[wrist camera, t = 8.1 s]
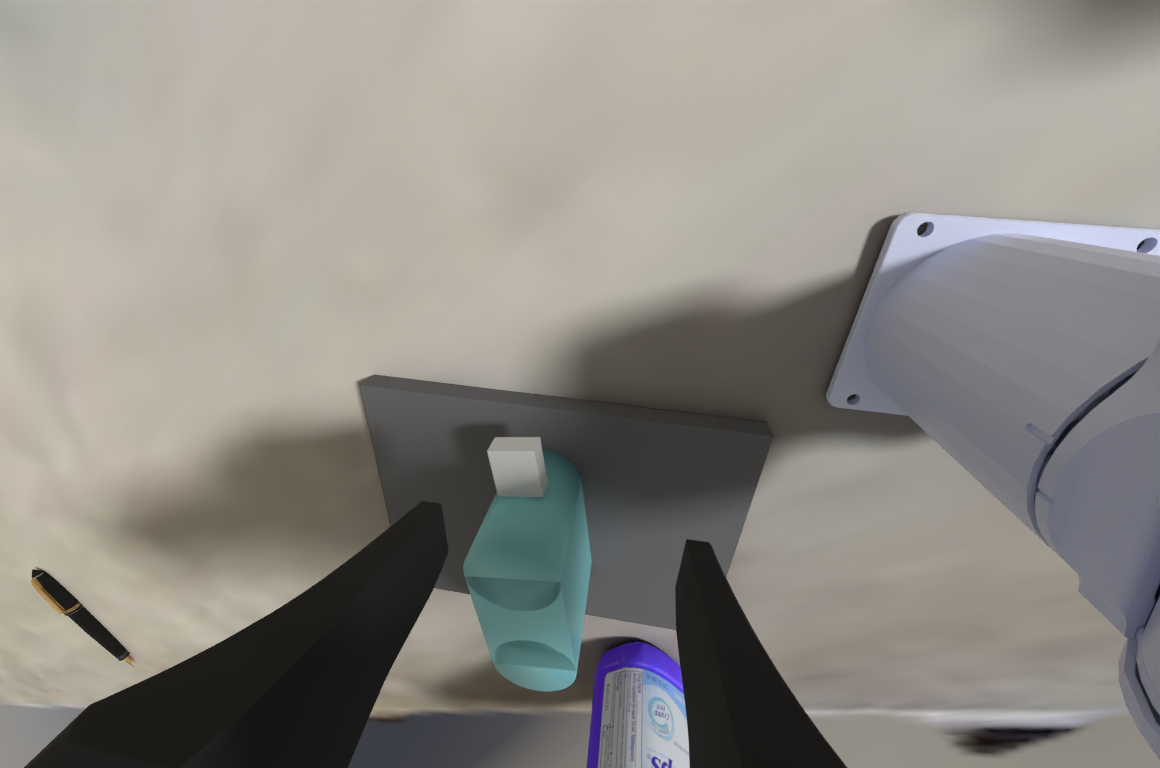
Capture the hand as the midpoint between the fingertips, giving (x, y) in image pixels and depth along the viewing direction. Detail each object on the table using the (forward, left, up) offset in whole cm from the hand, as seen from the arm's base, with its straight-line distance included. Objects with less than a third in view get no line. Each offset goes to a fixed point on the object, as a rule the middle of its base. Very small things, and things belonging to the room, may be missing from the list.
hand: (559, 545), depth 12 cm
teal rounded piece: (+2, +7, -8) cm, 11 cm away
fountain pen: (+46, +31, -10) cm, 56 cm away
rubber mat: (+2, +8, -9) cm, 12 cm away
